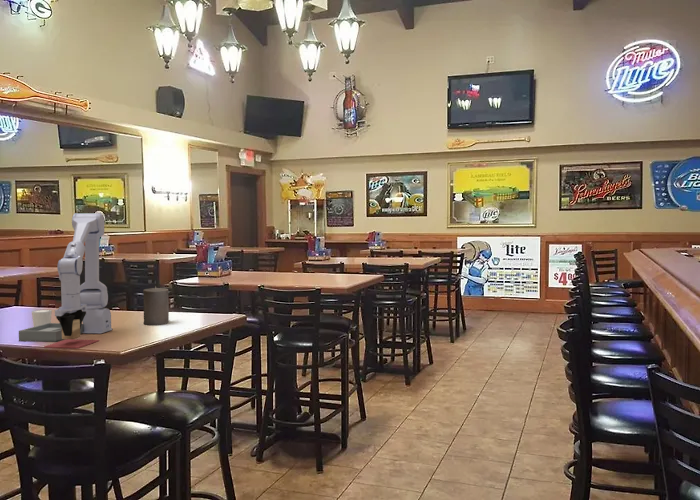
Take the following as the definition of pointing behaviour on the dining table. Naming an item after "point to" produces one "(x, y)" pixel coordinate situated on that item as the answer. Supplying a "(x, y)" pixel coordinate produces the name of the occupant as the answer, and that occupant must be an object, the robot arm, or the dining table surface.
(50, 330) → the grey green tray
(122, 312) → the dining table surface
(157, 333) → the dining table surface
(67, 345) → the bar mat
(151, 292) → the pillar candle
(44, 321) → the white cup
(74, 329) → the maple block
